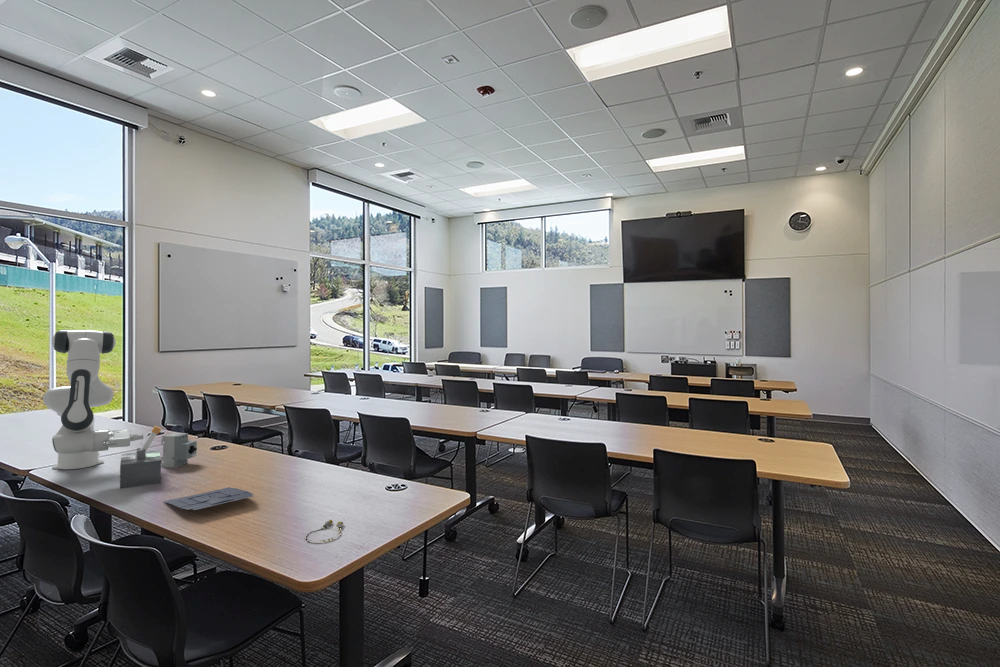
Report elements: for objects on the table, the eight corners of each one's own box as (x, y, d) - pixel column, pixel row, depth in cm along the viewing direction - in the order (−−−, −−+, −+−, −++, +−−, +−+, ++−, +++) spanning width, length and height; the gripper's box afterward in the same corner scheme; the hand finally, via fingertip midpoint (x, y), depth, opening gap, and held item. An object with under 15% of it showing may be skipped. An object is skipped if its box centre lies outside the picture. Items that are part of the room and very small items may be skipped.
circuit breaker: (189, 467, 237) (190, 436, 237) (160, 466, 237) (161, 435, 237) (199, 463, 244) (200, 433, 244) (171, 462, 245) (172, 432, 245)
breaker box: (121, 475, 222) (121, 446, 222) (158, 471, 230) (159, 442, 230) (119, 488, 204) (120, 456, 204) (160, 483, 212) (161, 452, 212)
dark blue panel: (188, 519, 170) (188, 508, 170) (162, 508, 189) (162, 498, 190) (260, 502, 188) (259, 492, 189) (229, 493, 208) (229, 485, 208)
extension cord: (357, 530, 167) (357, 524, 167) (320, 548, 153) (320, 541, 153) (332, 523, 173) (332, 517, 173) (294, 539, 159) (294, 533, 159)
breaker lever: (135, 454, 217) (154, 425, 221) (142, 456, 219) (161, 427, 223) (135, 455, 215) (155, 426, 219) (142, 457, 216) (161, 429, 220)
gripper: (102, 437, 201) (143, 433, 209) (104, 428, 217) (143, 425, 225) (102, 452, 201) (143, 448, 209) (104, 443, 217) (142, 439, 226)
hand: (143, 436), depth 217 cm, fingers closed
